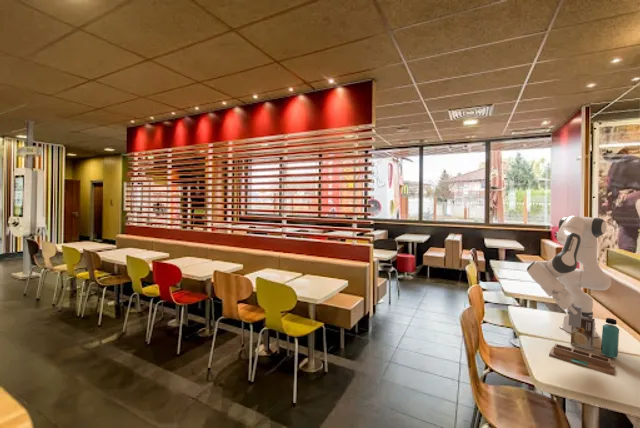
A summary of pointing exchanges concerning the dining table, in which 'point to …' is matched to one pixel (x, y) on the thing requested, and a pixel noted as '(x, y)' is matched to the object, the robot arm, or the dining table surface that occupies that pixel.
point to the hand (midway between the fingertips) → (577, 312)
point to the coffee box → (583, 334)
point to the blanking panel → (575, 317)
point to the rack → (582, 358)
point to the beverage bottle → (610, 338)
